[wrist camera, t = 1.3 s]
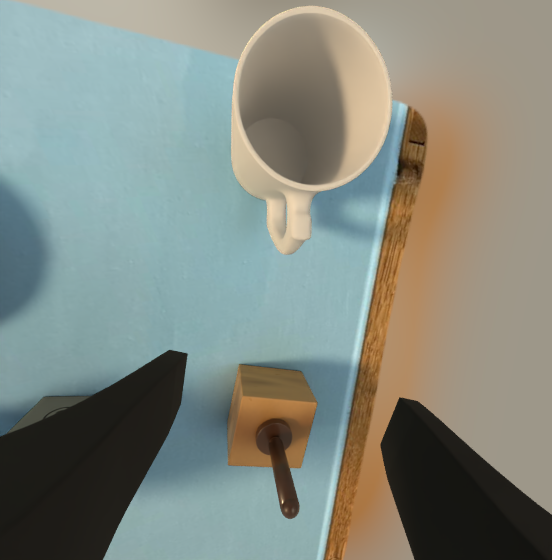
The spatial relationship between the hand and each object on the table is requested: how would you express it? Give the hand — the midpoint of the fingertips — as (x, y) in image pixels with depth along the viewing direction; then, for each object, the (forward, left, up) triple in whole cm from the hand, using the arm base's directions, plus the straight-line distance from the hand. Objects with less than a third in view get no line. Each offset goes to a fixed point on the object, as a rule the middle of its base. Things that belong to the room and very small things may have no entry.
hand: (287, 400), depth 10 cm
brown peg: (-10, -3, -11) cm, 15 cm away
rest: (-10, -3, -16) cm, 19 cm away
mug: (+9, 0, -16) cm, 19 cm away
